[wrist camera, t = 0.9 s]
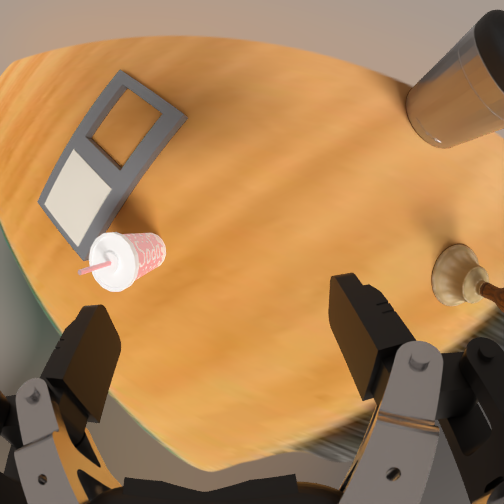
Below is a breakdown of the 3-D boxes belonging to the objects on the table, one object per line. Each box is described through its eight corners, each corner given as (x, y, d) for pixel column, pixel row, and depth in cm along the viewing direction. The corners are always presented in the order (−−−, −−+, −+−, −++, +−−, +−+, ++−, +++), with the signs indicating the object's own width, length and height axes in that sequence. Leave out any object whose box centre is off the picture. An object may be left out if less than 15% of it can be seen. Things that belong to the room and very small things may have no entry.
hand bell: (433, 313, 31) (500, 369, 16) (427, 252, 31) (508, 281, 15) (478, 295, 30) (550, 336, 14) (475, 238, 29) (557, 256, 14)
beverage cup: (169, 277, 35) (106, 313, 22) (129, 269, 36) (58, 297, 22) (173, 229, 34) (107, 242, 21) (132, 224, 35) (57, 233, 21)
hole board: (124, 73, 32) (119, 69, 31) (188, 117, 32) (183, 113, 31) (43, 201, 37) (36, 202, 35) (89, 259, 37) (82, 261, 35)
